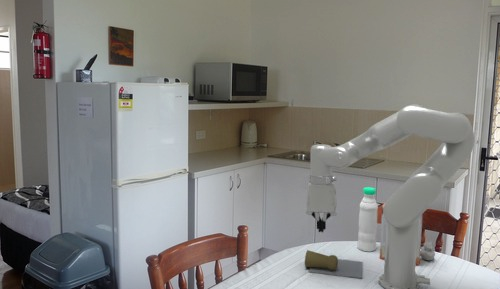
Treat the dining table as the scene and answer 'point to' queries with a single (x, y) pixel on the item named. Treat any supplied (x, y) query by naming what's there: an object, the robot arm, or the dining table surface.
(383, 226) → the cracker box
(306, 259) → the cork
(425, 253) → the rubber duck
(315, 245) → the dining table surface
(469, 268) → the dining table surface
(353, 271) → the rubber mat
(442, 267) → the dining table surface
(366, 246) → the water bottle
